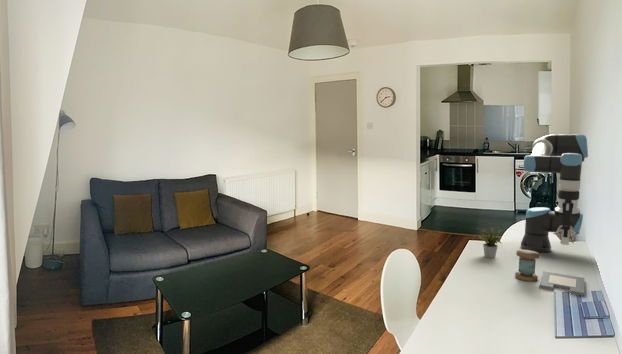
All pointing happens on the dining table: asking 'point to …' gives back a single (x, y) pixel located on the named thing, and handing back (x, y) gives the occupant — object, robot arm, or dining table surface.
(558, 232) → the game die
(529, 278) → the bobbin
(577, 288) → the notched board
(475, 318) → the dining table surface
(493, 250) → the house plant
